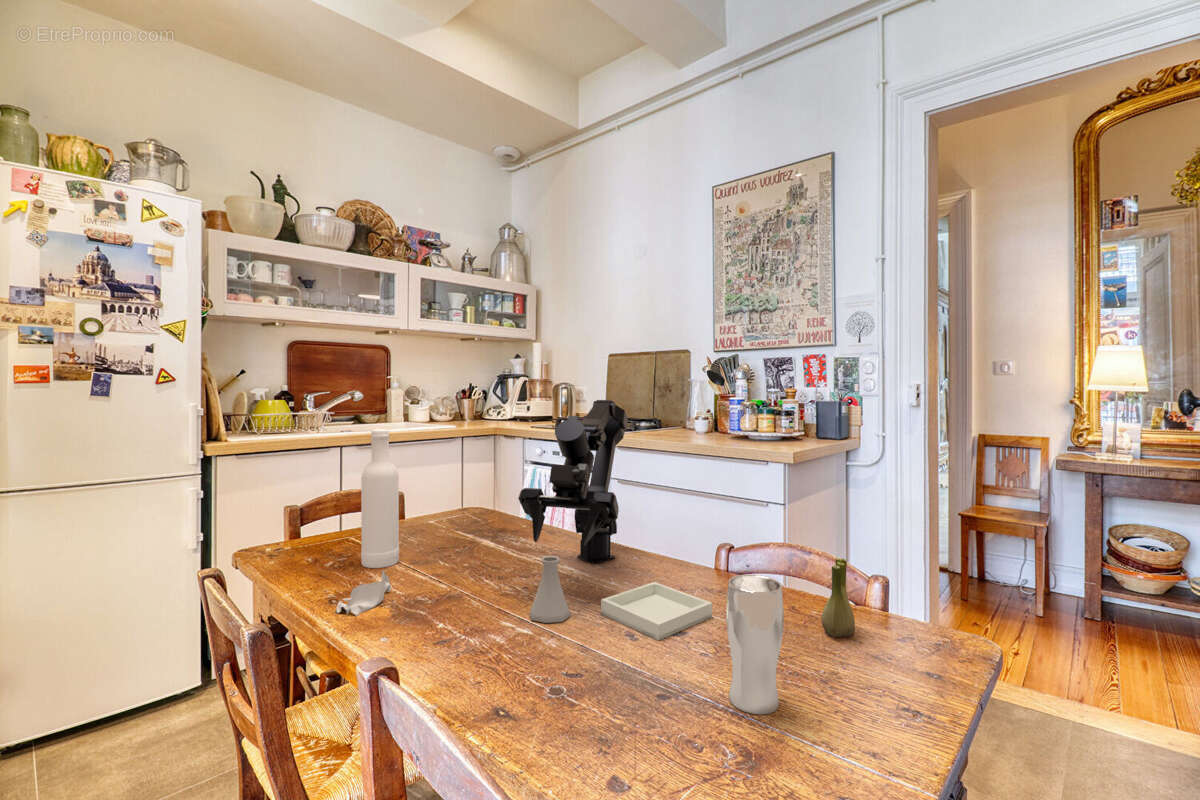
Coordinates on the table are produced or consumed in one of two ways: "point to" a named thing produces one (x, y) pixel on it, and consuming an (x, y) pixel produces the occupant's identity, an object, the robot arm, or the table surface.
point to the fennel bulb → (838, 605)
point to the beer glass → (754, 641)
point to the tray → (656, 610)
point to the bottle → (380, 506)
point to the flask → (550, 595)
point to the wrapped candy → (365, 596)
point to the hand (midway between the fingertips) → (558, 542)
